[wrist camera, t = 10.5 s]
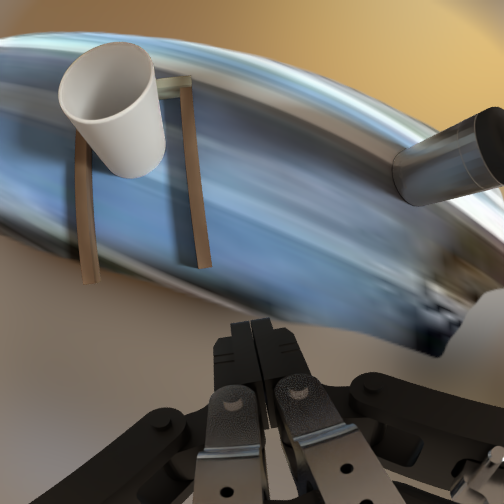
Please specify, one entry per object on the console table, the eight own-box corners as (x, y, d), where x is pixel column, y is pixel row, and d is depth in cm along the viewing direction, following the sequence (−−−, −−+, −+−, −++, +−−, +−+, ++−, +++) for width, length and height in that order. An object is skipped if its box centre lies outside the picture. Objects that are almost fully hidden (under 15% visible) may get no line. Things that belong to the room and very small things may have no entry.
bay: (190, 87, 36) (191, 75, 33) (210, 266, 36) (212, 267, 33) (83, 104, 33) (77, 94, 30) (90, 283, 33) (81, 285, 30)
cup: (159, 181, 35) (140, 124, 20) (97, 176, 34) (45, 123, 18) (170, 121, 36) (164, 42, 20) (111, 117, 34) (76, 43, 19)
